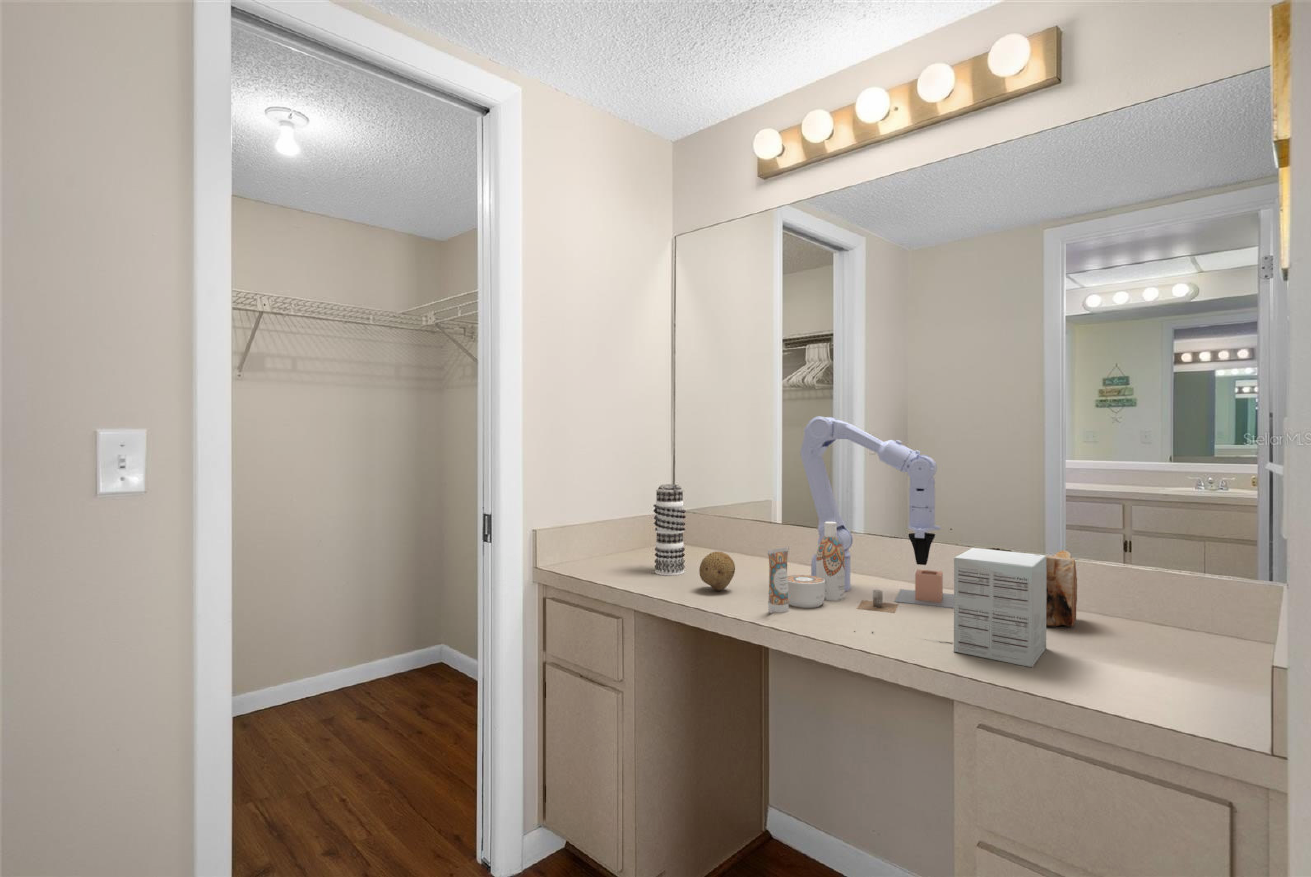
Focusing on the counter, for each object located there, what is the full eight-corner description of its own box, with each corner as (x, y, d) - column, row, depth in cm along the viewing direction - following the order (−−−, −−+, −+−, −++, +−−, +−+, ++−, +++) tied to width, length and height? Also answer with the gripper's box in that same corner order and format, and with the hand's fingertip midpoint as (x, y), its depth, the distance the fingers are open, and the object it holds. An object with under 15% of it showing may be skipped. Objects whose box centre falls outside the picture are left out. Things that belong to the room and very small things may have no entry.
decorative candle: (648, 570, 193) (648, 484, 192) (676, 567, 196) (676, 483, 196) (661, 577, 184) (661, 486, 184) (691, 573, 188) (691, 485, 188)
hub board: (894, 605, 154) (894, 581, 154) (900, 593, 166) (900, 571, 165) (961, 612, 148) (961, 588, 148) (962, 599, 159) (962, 576, 159)
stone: (1064, 635, 132) (1065, 559, 131) (1017, 624, 139) (1017, 552, 139) (1093, 622, 140) (1093, 551, 140) (1047, 613, 147) (1047, 545, 147)
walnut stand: (856, 612, 148) (856, 592, 148) (862, 603, 156) (862, 585, 156) (894, 616, 145) (894, 596, 145) (898, 607, 152) (898, 588, 152)
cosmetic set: (784, 621, 142) (784, 533, 142) (752, 612, 149) (752, 528, 149) (855, 602, 157) (855, 523, 157) (823, 595, 164) (823, 519, 164)
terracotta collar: (915, 599, 155) (915, 573, 155) (917, 594, 160) (917, 569, 160) (941, 602, 153) (941, 576, 153) (942, 596, 158) (942, 571, 158)
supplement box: (971, 634, 132) (971, 546, 132) (1047, 648, 124) (1047, 554, 123) (951, 652, 122) (952, 556, 121) (1033, 668, 113) (1034, 566, 113)
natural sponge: (722, 597, 162) (722, 556, 162) (692, 592, 167) (692, 552, 167) (741, 590, 169) (741, 550, 169) (711, 585, 174) (711, 547, 174)
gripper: (938, 511, 149) (938, 571, 149) (941, 504, 162) (941, 560, 162) (905, 509, 152) (904, 568, 152) (910, 503, 165) (910, 557, 165)
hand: (921, 564), depth 157 cm, fingers closed
